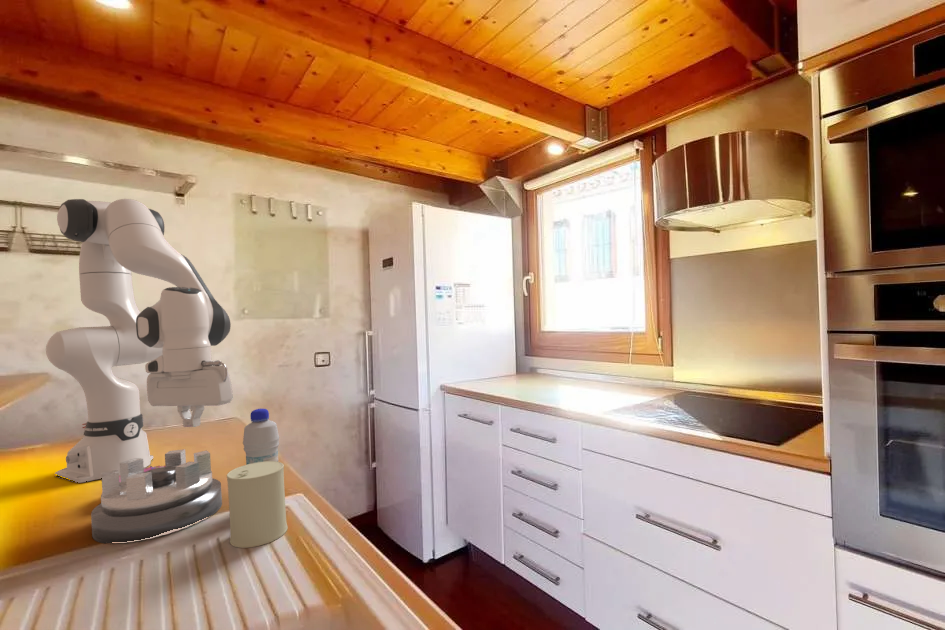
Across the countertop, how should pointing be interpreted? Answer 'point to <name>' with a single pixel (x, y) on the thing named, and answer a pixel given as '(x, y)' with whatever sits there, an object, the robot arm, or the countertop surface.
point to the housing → (154, 518)
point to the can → (256, 504)
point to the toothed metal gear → (155, 484)
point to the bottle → (261, 438)
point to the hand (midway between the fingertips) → (191, 426)
